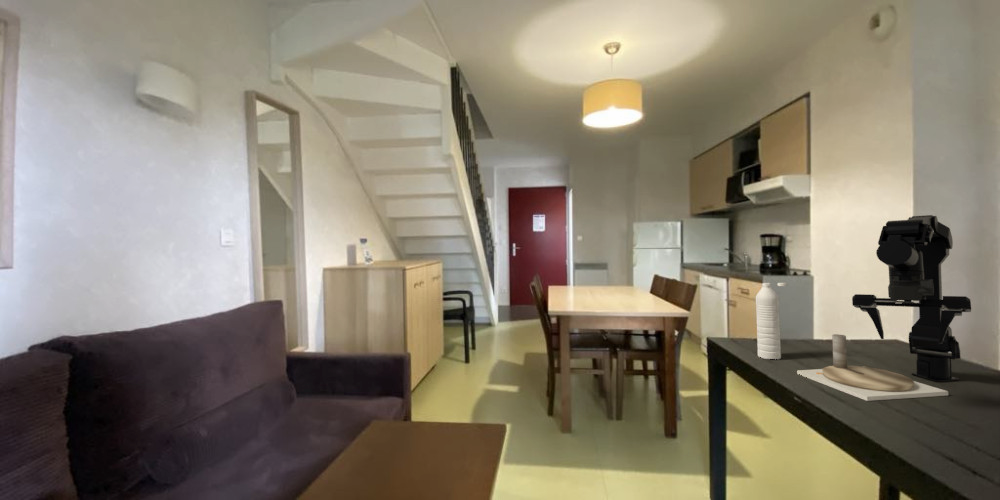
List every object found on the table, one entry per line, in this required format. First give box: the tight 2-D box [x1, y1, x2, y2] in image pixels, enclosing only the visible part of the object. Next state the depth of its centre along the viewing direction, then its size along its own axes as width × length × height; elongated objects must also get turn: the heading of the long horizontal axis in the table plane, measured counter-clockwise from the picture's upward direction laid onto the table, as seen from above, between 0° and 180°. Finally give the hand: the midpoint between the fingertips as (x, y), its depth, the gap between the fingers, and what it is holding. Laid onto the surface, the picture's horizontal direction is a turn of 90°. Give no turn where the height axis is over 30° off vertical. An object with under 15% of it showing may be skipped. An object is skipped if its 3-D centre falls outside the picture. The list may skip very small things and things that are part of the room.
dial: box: [822, 333, 915, 391], centre depth 108 cm, size 18×18×10 cm
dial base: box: [796, 366, 949, 402], centre depth 108 cm, size 21×21×1 cm
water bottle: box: [755, 282, 788, 360], centre depth 134 cm, size 9×6×25 cm
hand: (910, 341), depth 91 cm, fingers open, 9 cm apart
